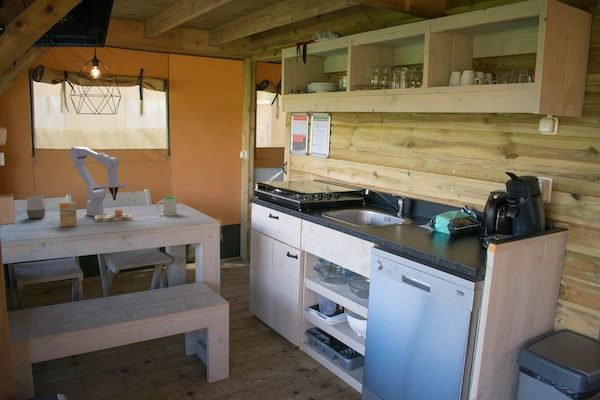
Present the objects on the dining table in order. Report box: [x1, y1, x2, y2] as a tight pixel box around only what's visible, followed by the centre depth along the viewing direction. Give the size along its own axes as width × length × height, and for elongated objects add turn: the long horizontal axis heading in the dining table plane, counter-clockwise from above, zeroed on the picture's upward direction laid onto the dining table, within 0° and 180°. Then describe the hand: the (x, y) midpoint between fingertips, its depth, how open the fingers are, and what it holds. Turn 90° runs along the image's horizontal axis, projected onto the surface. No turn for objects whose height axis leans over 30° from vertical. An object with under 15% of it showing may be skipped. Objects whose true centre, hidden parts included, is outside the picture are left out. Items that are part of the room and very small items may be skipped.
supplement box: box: [58, 201, 78, 227], centre depth 266 cm, size 8×5×13 cm, turn 118°
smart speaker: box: [26, 194, 46, 220], centre depth 284 cm, size 10×9×14 cm
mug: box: [156, 196, 178, 216], centre depth 304 cm, size 12×8×10 cm
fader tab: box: [114, 208, 123, 216], centre depth 288 cm, size 4×4×3 cm
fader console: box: [94, 213, 133, 223], centre depth 287 cm, size 20×10×2 cm, turn 113°
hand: (114, 199), depth 293 cm, fingers closed
